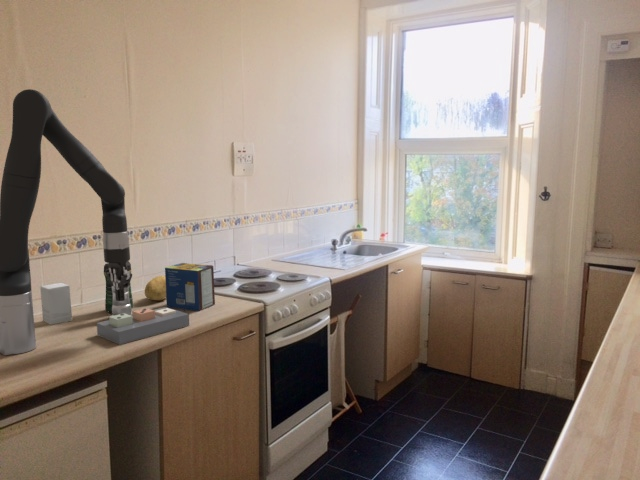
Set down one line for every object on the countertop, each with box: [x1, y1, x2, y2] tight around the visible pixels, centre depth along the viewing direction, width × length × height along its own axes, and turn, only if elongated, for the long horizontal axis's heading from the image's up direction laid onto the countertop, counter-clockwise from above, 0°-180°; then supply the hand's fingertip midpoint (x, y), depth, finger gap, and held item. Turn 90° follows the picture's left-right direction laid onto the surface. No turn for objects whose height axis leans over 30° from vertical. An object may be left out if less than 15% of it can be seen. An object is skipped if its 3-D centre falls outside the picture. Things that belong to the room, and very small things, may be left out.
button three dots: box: [132, 307, 155, 322], centre depth 172 cm, size 5×5×5 cm
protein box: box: [164, 262, 216, 312], centre depth 201 cm, size 10×15×16 cm
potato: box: [144, 275, 166, 301], centre depth 211 cm, size 10×14×10 cm
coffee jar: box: [103, 260, 134, 314], centre depth 195 cm, size 10×8×19 cm
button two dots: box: [108, 313, 133, 328], centre depth 166 cm, size 5×5×5 cm
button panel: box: [96, 306, 190, 346], centre depth 172 cm, size 25×14×4 cm, turn 139°
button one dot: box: [155, 307, 177, 316], centre depth 178 cm, size 5×5×5 cm
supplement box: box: [39, 282, 73, 326], centre depth 182 cm, size 7×7×13 cm
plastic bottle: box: [111, 286, 133, 316], centre depth 186 cm, size 6×7×20 cm
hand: (120, 300), depth 165 cm, fingers closed
